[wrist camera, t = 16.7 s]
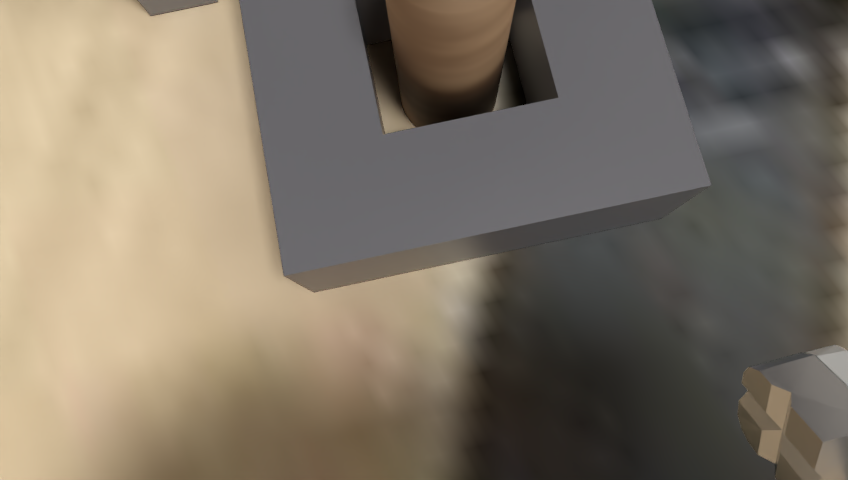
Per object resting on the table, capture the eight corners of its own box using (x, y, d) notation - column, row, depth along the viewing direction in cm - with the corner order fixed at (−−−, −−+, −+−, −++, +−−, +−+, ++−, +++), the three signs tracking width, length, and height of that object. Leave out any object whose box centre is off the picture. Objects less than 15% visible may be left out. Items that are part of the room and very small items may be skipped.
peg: (514, 78, 25) (553, -77, 16) (464, 155, 24) (476, 38, 16) (433, 33, 26) (427, -141, 17) (382, 108, 25) (349, -32, 16)
